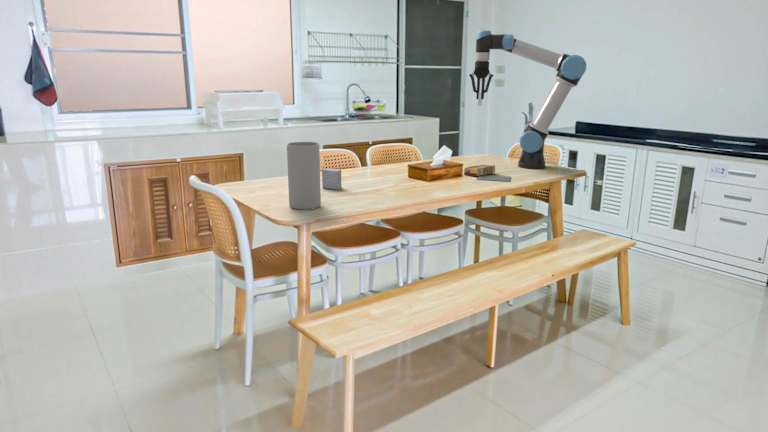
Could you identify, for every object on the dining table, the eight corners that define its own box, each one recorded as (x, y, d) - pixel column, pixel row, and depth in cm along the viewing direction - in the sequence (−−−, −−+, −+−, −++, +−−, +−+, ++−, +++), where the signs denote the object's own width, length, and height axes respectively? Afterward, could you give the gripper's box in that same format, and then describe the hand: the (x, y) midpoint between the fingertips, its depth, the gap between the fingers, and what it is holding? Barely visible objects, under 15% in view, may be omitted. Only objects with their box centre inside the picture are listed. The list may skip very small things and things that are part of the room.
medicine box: (341, 187, 242) (341, 169, 240) (337, 189, 238) (337, 171, 235) (326, 186, 244) (325, 168, 242) (322, 188, 240) (321, 170, 238)
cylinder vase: (283, 208, 206) (280, 145, 199) (299, 201, 217) (297, 141, 210) (311, 211, 201) (309, 147, 194) (326, 204, 213) (324, 142, 206)
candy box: (476, 176, 267) (495, 172, 277) (476, 168, 266) (495, 164, 276) (463, 175, 274) (482, 171, 283) (463, 167, 273) (482, 163, 283)
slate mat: (511, 177, 269) (511, 176, 269) (509, 181, 258) (509, 181, 258) (479, 175, 274) (480, 174, 274) (476, 179, 263) (476, 178, 263)
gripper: (495, 61, 283) (492, 105, 289) (471, 61, 287) (468, 104, 293) (493, 60, 276) (490, 106, 283) (469, 60, 280) (466, 105, 286)
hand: (479, 105), depth 288 cm, fingers closed
